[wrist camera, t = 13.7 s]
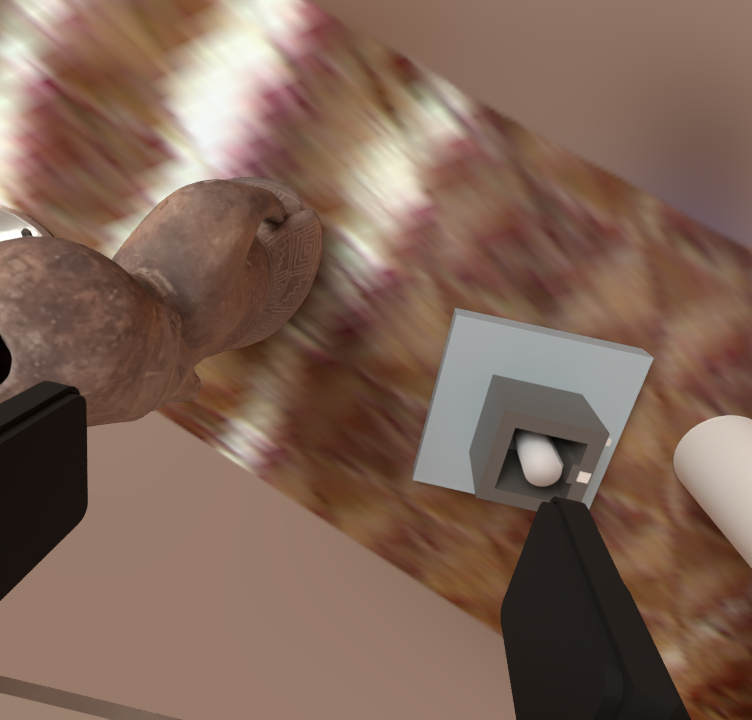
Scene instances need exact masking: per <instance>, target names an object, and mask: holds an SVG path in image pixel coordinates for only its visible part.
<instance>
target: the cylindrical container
mask: <svg viewBox="0 0 752 720" xmlns="http://www.w3.org/2000/svg"><path fill="white" fill-rule="evenodd" d="M673 466H674V470H675V473H676V475H677V477H678V479H679V480H680V482H681V483H682V484H683V485H684V486H685V488H686V489H687V490H688V491H689V493H690V494H691V495H692V496H693V497H694V499H695V500H696V501H697V502H698V504H699V505H700V506H701V507H702V508H703V510H704V511H705V512H706V513H707V514H708V516H709V517H710V518H711V519H712V521H713V522H714V523H715V524H716V525H717V527H718V528H719V529H720V530H721V531H722V533H723V534H724V535H725V536H726V538H727V539H728V540H729V541H730V542H731V544H732V545H733V546H734V547H735V549H736V550H737V551H738V552H739V553H740V555H741V556H742V557H743V558H744V559H745V561H746V562H747V563H748V564H749V566H750V567H751V568H752V420H751V419H749V418H746V417H741V416H730V415H728V416H720V417H716V418H712V419H709V420H706V421H704V422H702V423H700V424H698V425H697V426H695V427H694V428H692V429H691V430H690V431H689V432H688V433H687V434H686V435H684V437H683V438H682V439H681V441H680V442H679V444H678V446H677V448H676V450H675V453H674V458H673Z"/></svg>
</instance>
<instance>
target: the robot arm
mask: <svg viewBox="0 0 752 720" xmlns="http://www.w3.org/2000/svg"><path fill="white" fill-rule="evenodd" d="M32 236H48V237H52V236H51V235H50V234H49V233H48V232H47V231H46V230H45V229H44V228H43V227H42V226H40V225H39V224H38V223H36V222H35V221H34V220H32V219H31V218H30V217H28V216H26V215H24V214H22V213H20V212H18V211H16V210H14V209H11V208H8V207H5V206H1V205H0V241H4V240H9V239H14V238H19V237H32ZM87 491H88V488H87V404H86V399H85V397H83V396H81V395H80V392H79V390H78V389H77V388H76V387H74V386H69V385H65V384H61V383H56V382H52V381H43V382H40V383H38V384H36V385H34V386H32V387H30V388H29V389H27V390H25V391H23V392H21V393H19V394H17V395H15V396H13V397H11V398H10V399H8V400H6V401H4V402H2V403H0V601H1V599H3V598H4V596H6V595H7V594H8V593H9V592H10V591H11V590H12V589H13V588H14V587H15V586H16V585H17V584H18V583H19V582H20V581H21V580H22V579H23V578H24V577H25V576H26V575H27V574H28V573H29V572H30V571H31V570H32V569H33V568H34V567H35V566H36V565H37V564H38V563H39V562H40V561H41V560H42V559H43V558H44V557H45V556H46V555H47V554H48V553H49V552H50V551H51V550H52V549H53V548H54V547H55V546H56V545H57V544H58V543H59V542H60V541H61V540H63V539H64V537H65V536H66V535H67V534H69V533H70V532H71V531H72V530H73V529H74V528H75V527H76V526H77V525H78V524H79V522H80V521H81V520H82V519H83V517H84V515H85V513H86V510H87V505H88V492H87ZM501 626H502V632H503V638H504V645H505V651H506V657H507V664H508V669H509V676H510V683H511V689H512V695H513V701H514V707H515V714H516V720H691V719H690V716H689V714H688V712H687V710H686V708H685V706H684V704H683V702H682V700H681V698H680V696H679V694H678V692H677V689H676V687H675V685H674V683H673V681H672V679H671V677H670V675H669V673H668V671H667V669H666V667H665V664H664V662H663V660H662V658H661V656H660V654H659V652H658V650H657V648H656V646H655V644H654V642H653V640H652V637H651V635H650V633H649V631H648V629H647V627H646V625H645V623H644V621H643V619H642V617H641V615H640V613H639V610H638V608H637V606H636V604H635V602H634V600H633V598H632V596H631V594H630V592H629V590H628V589H627V587H626V586H625V584H624V583H623V581H622V579H621V577H620V575H619V573H618V571H617V568H616V566H615V564H614V562H613V560H612V558H611V556H610V554H609V552H608V550H607V547H606V545H605V543H604V541H603V539H602V537H601V535H600V533H599V531H598V529H597V526H596V524H595V522H594V520H593V518H592V516H591V514H590V512H589V510H588V508H587V506H586V504H585V503H582V502H578V501H574V500H570V499H565V498H561V497H557V496H555V497H553V498H552V499H551V500H550V502H545V501H543V502H542V503H541V504H540V506H539V508H538V511H537V513H536V516H535V518H534V521H533V524H532V526H531V529H530V532H529V534H528V537H527V539H526V542H525V545H524V547H523V550H522V553H521V555H520V558H519V560H518V563H517V566H516V568H515V571H514V574H513V576H512V579H511V581H510V584H509V587H508V589H507V592H506V594H505V597H504V600H503V603H502V607H501ZM0 720H181V719H177V718H173V717H169V716H164V715H160V714H156V713H152V712H148V711H144V710H140V709H136V708H132V707H128V706H124V705H119V704H115V703H111V702H107V701H103V700H99V699H95V698H91V697H87V696H82V695H78V694H74V693H70V692H66V691H62V690H58V689H54V688H50V687H45V686H41V685H37V684H33V683H28V682H24V681H20V680H16V679H12V678H7V677H3V676H0Z"/></svg>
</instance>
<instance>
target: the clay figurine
mask: <svg viewBox="0 0 752 720" xmlns="http://www.w3.org/2000/svg"><path fill="white" fill-rule="evenodd" d="M322 245H323V237H322V228H321V222H320V219H319V217H318V215H317V214H316V212H315V211H314V210H311V209H308V210H303V203H302V200H301V197H300V195H299V194H298V193H297V192H296V191H295V190H294V189H292V188H291V187H290V186H288V185H287V184H285V183H282V182H280V181H276V180H272V179H269V178H261V177H240V178H232V179H227V180H218V179H215V180H205V181H200V182H196V183H193V184H190V185H187V186H184V187H182V188H180V189H178V190H177V191H175V192H173V193H172V194H171V195H169V196H168V197H166V198H165V199H164V200H163V201H162V202H160V203H159V204H158V205H157V206H156V207H155V208H154V209H153V210H152V211H151V212H150V213H149V214H148V215H147V216H146V217H145V219H144V220H143V221H142V222H141V223H140V224H139V226H138V227H137V228H136V229H135V230H134V231H133V232H132V234H131V235H130V236H129V238H128V239H127V240H126V241H125V242H124V244H123V245H122V246H121V248H120V249H119V250H118V252H117V253H116V254H115V256H114V257H113V259H112V260H111V259H109V258H107V257H106V256H104V255H103V254H101V253H99V252H97V251H95V250H93V249H91V248H89V247H87V246H85V245H82V244H79V243H75V242H72V241H69V240H65V239H61V238H55V237H48V236H32V237H19V238H14V239H9V240H4V241H0V403H2V402H4V401H6V400H8V399H10V398H11V397H13V396H15V395H17V394H19V393H21V392H23V391H25V390H27V389H29V388H30V387H32V386H34V385H36V384H38V383H40V382H43V381H52V382H56V383H61V384H65V385H69V386H74V387H76V388H77V389H78V390H79V392H80V395H81V396H83V397H85V399H86V404H87V427H90V426H96V425H103V424H110V423H118V422H128V421H134V420H138V419H140V418H142V417H144V416H145V415H147V414H148V413H149V412H151V411H154V410H156V409H158V408H160V407H162V406H163V405H165V404H167V403H169V402H180V401H192V400H196V399H197V398H198V393H199V389H200V388H201V387H202V384H201V382H200V379H199V377H198V376H197V375H196V373H195V370H194V366H195V365H197V364H198V363H199V362H200V361H201V360H203V359H204V358H205V357H208V356H211V355H214V354H218V353H221V352H223V351H226V350H233V349H238V348H242V347H246V346H249V345H251V344H254V343H257V342H259V341H262V340H264V339H266V338H267V337H269V336H271V335H272V334H273V333H275V332H276V331H277V330H279V329H280V328H281V327H282V326H283V325H284V324H285V323H286V322H287V321H288V320H289V319H290V318H291V317H292V316H293V315H294V313H295V312H296V311H297V309H298V308H299V307H300V306H301V304H302V302H303V301H304V300H305V298H306V296H307V295H308V293H309V292H310V290H311V287H312V285H313V283H314V280H315V277H316V273H317V271H318V268H319V264H320V261H321V256H322Z"/></svg>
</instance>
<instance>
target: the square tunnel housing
mask: <svg viewBox="0 0 752 720" xmlns="http://www.w3.org/2000/svg"><path fill="white" fill-rule="evenodd" d="M515 428H519V429H523V430H528V431H532V432H536V433H541V434H545V435H550V437H551V439H552V441H553V443H554V445H555V448H556V450H557V452H558V454H559V456H560V458H561V460H562V463H563V465H564V466H563V468H562V473H561V476H560V478H559V479H558V481H556V482H555V483H553V484H551V485H549V486H536V485H533V484H531V483H530V482H529V481H528V480H527V479H526V477H525V475H524V472H523V469H522V465H521V462H520V459H519V456H518V453H517V450H513V449H509V445H510V442H511V439H512V436H513V433H514V430H515ZM609 435H610V433H609V432H608V430H607V429H606V428H605V426H604V425H603V423H602V422H601V420H600V419H599V418H598V416H597V415H596V413H595V412H594V410H593V409H592V408H591V406H590V405H589V403H588V402H587V400H586V399H585V398H584V396H583V395H582V394H579V393H574V392H570V391H565V390H561V389H556V388H552V387H547V386H543V385H538V384H534V383H530V382H525V381H521V380H516V379H512V378H507V377H503V376H498V375H494V374H493V375H492V379H491V382H490V385H489V388H488V391H487V395H486V398H485V401H484V404H483V408H482V411H481V414H480V417H479V421H478V424H477V427H476V430H475V434H474V437H473V440H472V443H471V447H470V450H469V455H470V462H471V469H472V476H473V483H474V490H475V497H476V498H480V499H484V500H488V501H493V502H497V503H501V504H506V505H510V506H514V507H519V508H523V509H527V510H532V511H536V512H537V511H538V508H539V506H540V504H541V503H542V502H543V501H545V502H550V500H551V499H552V498H553V497H555V496H557V497H561V498H565V499H570V500H574V501H578V502H582V499H583V497H584V495H585V492H586V490H587V487H588V485H589V483H590V480H591V478H592V476H593V473H594V471H595V468H596V466H597V464H598V461H599V459H600V456H601V454H602V452H603V449H604V447H605V445H606V442H607V440H608V437H609Z"/></svg>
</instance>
